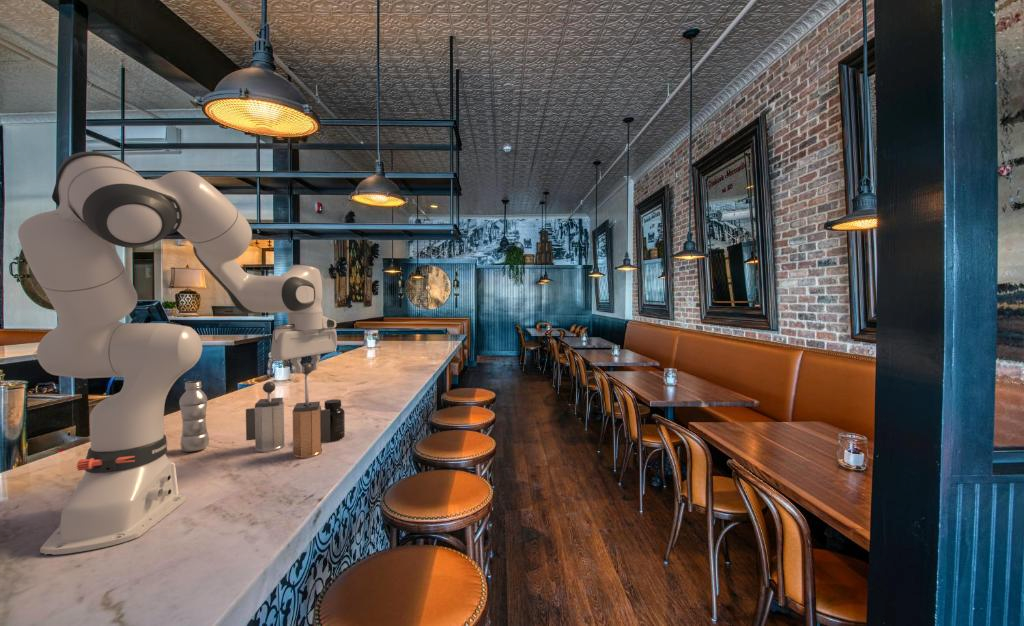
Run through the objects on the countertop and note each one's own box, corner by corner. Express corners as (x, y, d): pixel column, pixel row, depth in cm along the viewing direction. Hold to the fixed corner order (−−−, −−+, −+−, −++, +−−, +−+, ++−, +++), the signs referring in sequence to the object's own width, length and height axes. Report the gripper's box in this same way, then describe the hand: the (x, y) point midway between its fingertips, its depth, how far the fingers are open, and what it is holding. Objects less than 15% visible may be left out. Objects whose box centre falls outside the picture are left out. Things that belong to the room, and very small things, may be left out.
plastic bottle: (197, 454, 114) (195, 384, 113) (174, 454, 114) (172, 384, 113) (214, 446, 120) (213, 379, 120) (192, 446, 121) (190, 379, 120)
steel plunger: (262, 433, 117) (261, 383, 117) (264, 429, 120) (264, 381, 120) (275, 431, 119) (274, 382, 118) (277, 428, 122) (276, 380, 121)
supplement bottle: (316, 440, 125) (315, 402, 125) (332, 433, 132) (331, 397, 131) (334, 443, 123) (333, 404, 123) (349, 436, 130) (349, 399, 129)
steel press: (243, 454, 114) (242, 405, 114) (250, 445, 121) (249, 399, 121) (282, 450, 117) (281, 402, 117) (286, 441, 124) (285, 396, 124)
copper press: (331, 446, 121) (330, 400, 120) (329, 455, 114) (328, 406, 113) (295, 450, 117) (294, 402, 117) (291, 460, 110) (290, 409, 110)
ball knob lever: (314, 411, 117) (313, 361, 116) (312, 414, 114) (312, 363, 113) (301, 413, 116) (300, 362, 115) (300, 416, 113) (299, 364, 112)
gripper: (282, 325, 103) (283, 379, 103) (340, 321, 122) (341, 366, 123) (264, 325, 105) (265, 377, 105) (323, 320, 124) (324, 365, 125)
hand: (306, 371), depth 114 cm, fingers closed on ball knob lever, 3 cm apart
